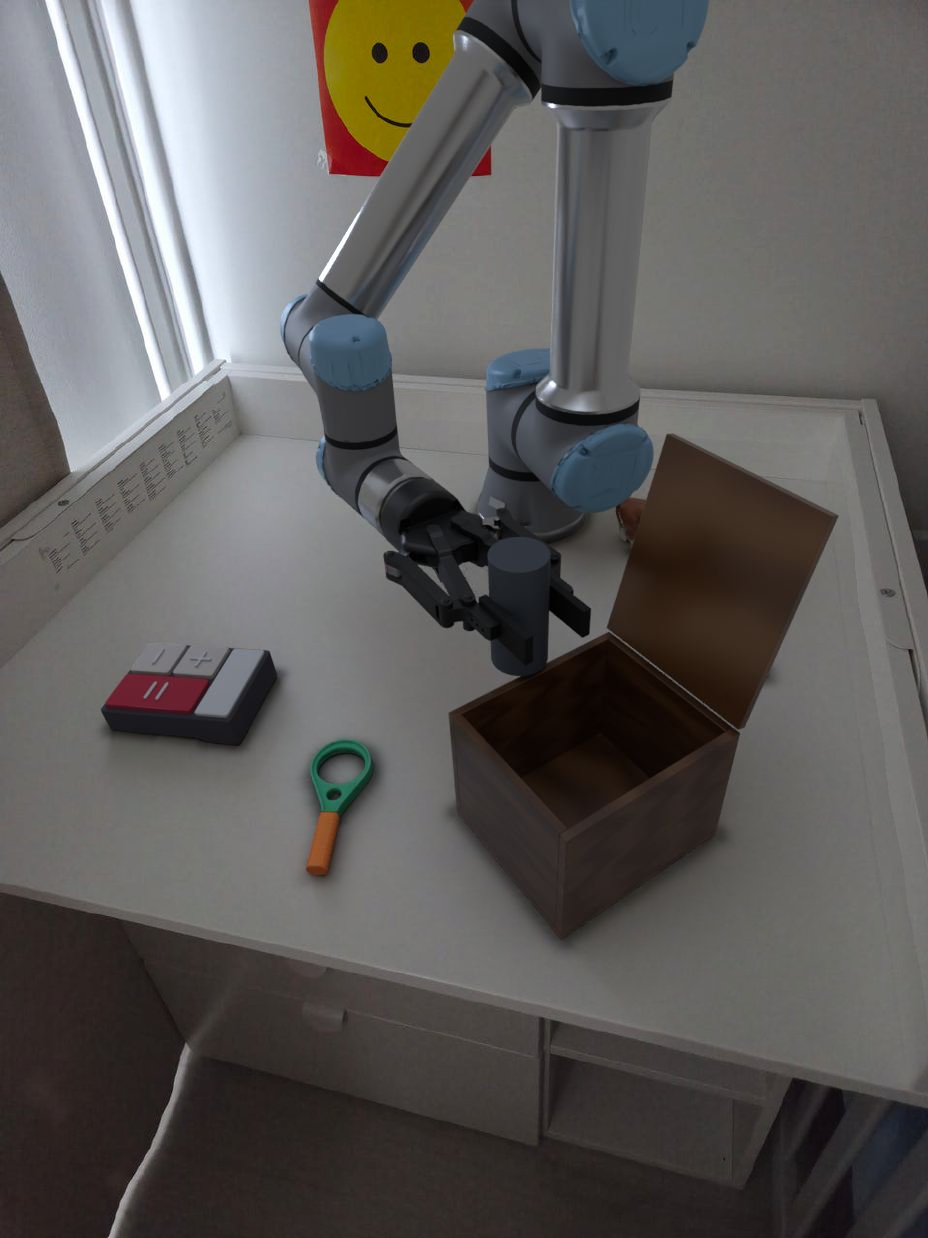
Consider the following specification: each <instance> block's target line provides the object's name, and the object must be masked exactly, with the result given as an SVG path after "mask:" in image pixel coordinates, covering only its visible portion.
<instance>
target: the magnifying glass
mask: <svg viewBox="0 0 928 1238" xmlns="http://www.w3.org/2000/svg"><path fill="white" fill-rule="evenodd" d="M343 753H350V754H354V755H357V756H358V757H361V759H362V760H363V761H364V768H363V770H362V772H361V773H360V774H359V775H358V776H357V777H356V778H355V779H353V780H351V781H348V782H345V783H330V782H327V781H325V780H323V779H322V778H321V777H320V776H319V769H320V767H321V765H322V764H323V763H324V762H325V761H326V760H327V759H328V758H330V757H332V756H334V755H337V754H343ZM373 765H374V764H373V759H372V756H371V753H370V751H369V749H368V748H367V747H366V746H365V745H364V744H363V743H362V742H360V741H358V740H355V739H351V738H350V739H349V738H343V739H337V740H333V741H331V742H328V743H327V744H325V745H323V746H322V747H321V748H320V749H318V751H317V752H316V753H315V754H314V756H313V758H312V759H311V762H310V765H309V774H310V780H311V781H312V785H313V788H314V791H315V794H316V797H317V800H318V803H319V806H320V814H319V817H318V819H317V824H316V828H315V832H314V835H313V838H312V844H311V847H310V851H309V854H308V858H307V862H306V866H305V870H306V871H305V872H307V873H308V874H309V875H312V876H314V875H315V876H325V875H326V874H327V873H328V871H329V866H330V863H331V858H332V853H333V849H334V845H335V842H336V837H337V832H338V828H339V824H340V821H341V820H340V818H341V816H342V815H343V813H344V812H345V810H346V809H347V808H348V807H349V806H350V805H351V803H352V802H353V801H354V800H355V798H356V797H357V796H358V795H359V794H360V793H361V791H362V790H363V789H364V788H365V786H366V785H367V784H368V783H369V781H370V780H371V777H372V775H373V771H374V766H373ZM336 794H338V795H340V797H338V798H337V799H333V800H332V799H329V798H330V797H331V796H333V795H336Z"/></svg>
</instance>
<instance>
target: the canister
mask: <svg viewBox="0 0 928 1238" xmlns="http://www.w3.org/2000/svg"><path fill="white" fill-rule="evenodd" d="M550 560H551V554H550V550H549V548H548V547H547V546H546V545H545V544H544V543H542V542H540V541H538V540H536V539H533V538H528V537H511V538H506V539H503V540H501V541H500V540H499V541H498V542H497V543H495V544H494V545H493V546H492V547H491V548H490V549H489V551H488V566H487V577H488V578H487V579H488V582H487V583H488V596H489V597H490V598H491V599H492V600H493V601H494V602H495V603H497V604H498V605H499V606H500V607H501V608H502V609H503V610H504V611H506V612H507V613H508V614H509V615H510V616H511V617H512V618H513V619H515V620H516V621H517V622H518V623H519V624H520V625H521V626H522V627H524V628H525V629H526V630H527V631H528V632H529V633H530V634H531V635H533V662H532V663H530V664H528V665H526V666H525V665H524V664H523V663H522V662H521V661H520V660H518V659H517V658H516V657H515V656H514V655H513V654H512V653H511V652H510V651H509V650H508V649H507V648H506V647H505V646H504V645H502V644H501V643H500V642H499V641H498V640H497V639H494V640H492V641H490V660H491V663H492V665H493V667H494V668H496V669H497V670H498V671H500V672H501V673H503V674H505V675H509V676H513V677H520V676H527V675H531V674H534V673H536V672H538V671H540V670H541V669H542V668H543V667H544V666H545V665H546V663H548V660H549V636H550V635H549V634H550V632H549V631H550V611H549V599H550Z"/></svg>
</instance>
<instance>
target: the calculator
mask: <svg viewBox="0 0 928 1238" xmlns="http://www.w3.org/2000/svg"><path fill="white" fill-rule="evenodd" d="M277 677H278V672H277V669H276V666H275V663H274V660H273V657H272V655H271V652H270V650H267V649H254V648H253V649H252V648H236V647H228V646H222V645H221V646H219V645H206V644H205V645H203V644H191V645H189V644H188V645H187V644H186V643H171V642H170V643H168V642H156V641H155V642H154V641H153V642H149V643H148V644H147V646H146V647H145V648H144V649H143V651H142V652H141V654H140V655H139V656H138V658H137V659H136V660H135V662H134V663H133V664H132V666H131V667H130V668H129V670H128V672H127V673H126V674H125V675H124V676H123V677H122V679H121V680H120V682H119V683H118V684H117V686H116V687H115V688H114V690H113V691H112V692H111V693H110V695H109V696H108V698H107V699H106V700H105V702H104V704H103V706H102V707H100V712H101V714H102V716H103V718H104V719H105V722H106V723H107V725H108V727H109V729H110V730H111V731H120V732H128V733H129V732H131V733H142V734H153V735H163V736H176V737H185V738H187V737H188V738H197V739H199V740H201V741H203V742H205V743H211V744H212V743H213V744H223V745H233V746H234V745H240V744H241V742H242V741H243V739H244V737H245V735H246V733H247V732H248V730H249V728H250V726H251V724H252V722H253V720H254V719H255V717H256V716H257V713H258V711H259V709H260V707H262V704H263V702H264V700H265V698H266V697H267V695H268V693H269V691H270V689H271V688H272V685H273V683H274V681H275V680H276V678H277Z"/></svg>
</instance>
